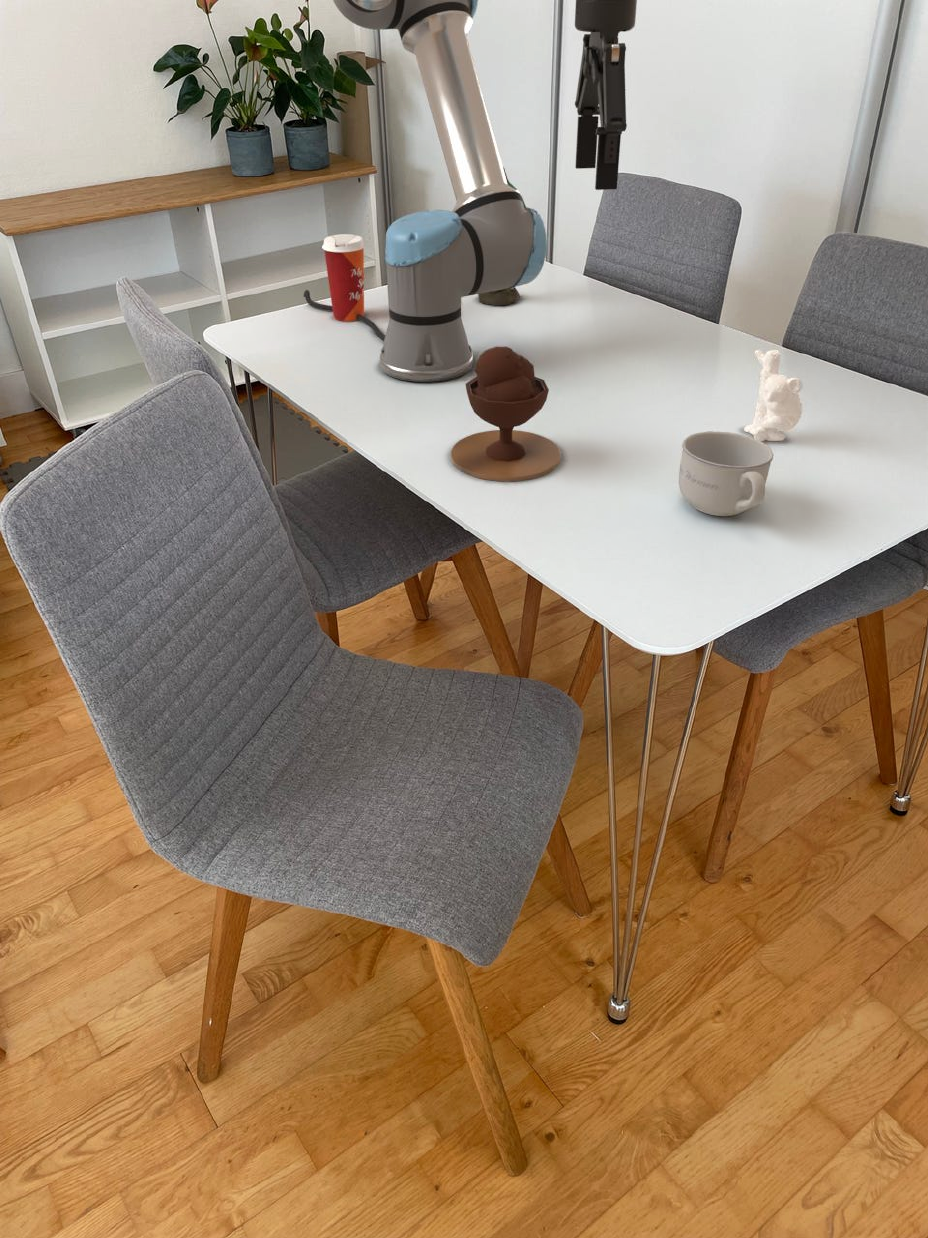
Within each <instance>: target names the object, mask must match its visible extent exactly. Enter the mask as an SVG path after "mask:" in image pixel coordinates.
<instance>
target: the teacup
mask: <svg viewBox="0 0 928 1238" xmlns="http://www.w3.org/2000/svg"><path fill="white" fill-rule="evenodd" d="M681 447H682V449H681V457H680V462H679V470H678V488H679V491H680V493H681V495H682V497H684V499H685V500H686V501H687V502H689V504H690V505H691V506H692V507H693V508H694V509H696V510H698V511H699V512H701V513H704V514H707V515H709V516H710V515H711V516H715V517H731V516H736V515H739V514H741V513H743V512H745V511H746V510H747V511H748V510H749V509H751V508H754V507H757V506H759V505H760V504H761V503H762V501H763V500H764V498H765V495H766V484H767V480H768V476H769V472H770V467H771V463H772V461H773V460H774V453H773V449H771V448H770V446H768V445H767V444H766V443H764V441H759V440H756V439H754V437H751V436H748V435H745V434H741V433H736V432H729V431H713V430H712V431H710V430H708V431H701V432H697V433H696V432H695V433H692V434H690V435H688V436H687V437H685V439H683V441H682V446H681Z"/></svg>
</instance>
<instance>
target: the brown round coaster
mask: <svg viewBox="0 0 928 1238" xmlns="http://www.w3.org/2000/svg"><path fill="white" fill-rule="evenodd" d="M499 438H500V429H495V430H494V429H493V430H487V431H481V432H480V431H479V432H476V433H473V434H471V435H467V436H465V437H463V438H461V439H460V440H458V441H457V442H456V443H455V444H454V445H453V446H452V448H451V451H450V459H451V461H452V464H453V465H454V466H455V467H456V469H458V470H459V471H460V472H463V473H464V474H466V475H468V476H471V477H474V478H478V479H481V480H487V481H494V482H521V481H528V480H532V479H536V478H539V477H542V476H544V475H546V474H549V473H550V472H552V471H553V470H555V469H556V468H557V467H558V465H559V464H560V462H561V454H562V453H561V450H560V448H559V446H558V445H557V444H556V443H555V442H553V441H552V440H551V439H549V438H547V437H545V436H543V435H540V434H537V433H533V432H529V431H523V430H515V429H513V430H512V440H513V441H515V442H517V443H519V444H521V445H523V447H524V450H525V453H526V454H525V455H524V456H523V457H522V458H521V459H518V460H513V461H497V460H494V459H492V458H490V457H488V456H487V454H486V448H487V447H488V446H489V445H490V444H492V443H493V442H496V441H498V440H499Z"/></svg>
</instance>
